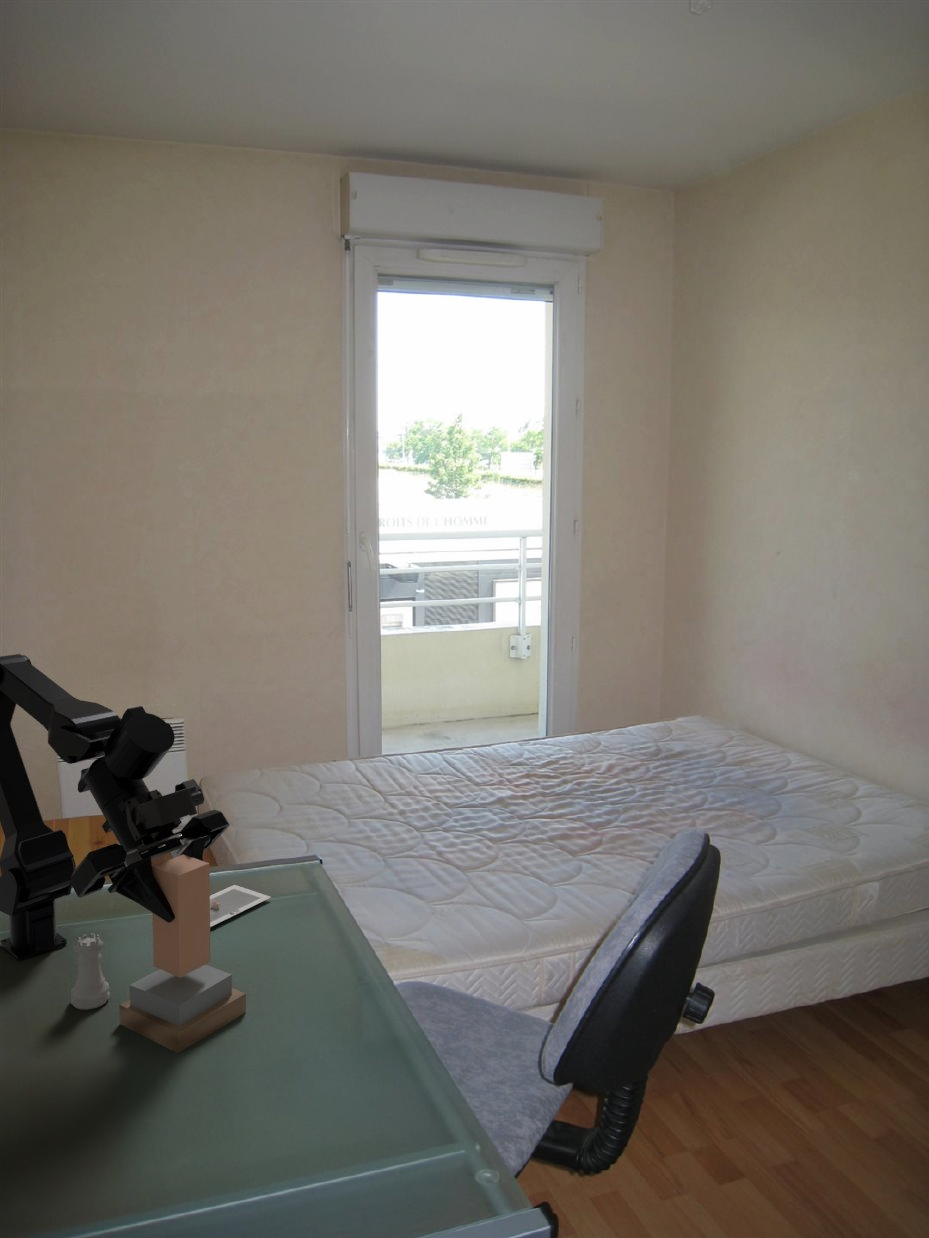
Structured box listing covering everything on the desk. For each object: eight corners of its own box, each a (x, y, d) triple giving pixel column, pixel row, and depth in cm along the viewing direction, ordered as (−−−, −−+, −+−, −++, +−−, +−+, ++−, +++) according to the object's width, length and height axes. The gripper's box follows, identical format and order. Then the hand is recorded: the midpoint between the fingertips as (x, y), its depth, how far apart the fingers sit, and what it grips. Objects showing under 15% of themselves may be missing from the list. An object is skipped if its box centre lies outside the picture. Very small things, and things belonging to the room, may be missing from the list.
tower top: (130, 1005, 106) (129, 984, 106) (183, 975, 113) (183, 956, 113) (179, 1026, 102) (179, 1005, 102) (231, 994, 109) (231, 974, 109)
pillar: (153, 966, 107) (151, 866, 106) (184, 950, 111) (183, 854, 109) (179, 977, 105) (177, 875, 103) (210, 961, 108) (209, 863, 107)
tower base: (120, 1028, 107) (119, 1004, 107) (189, 991, 115) (188, 968, 115) (178, 1058, 102) (177, 1032, 101) (246, 1017, 110) (245, 993, 110)
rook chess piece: (96, 1013, 109) (94, 948, 108) (62, 1008, 110) (59, 944, 109) (117, 994, 113) (116, 931, 112) (84, 989, 114) (82, 927, 113)
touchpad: (156, 927, 132) (155, 912, 132) (234, 891, 145) (234, 878, 144) (194, 942, 128) (194, 927, 128) (271, 903, 140) (271, 890, 140)
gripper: (83, 781, 99) (153, 906, 95) (218, 745, 115) (283, 851, 110) (42, 836, 104) (106, 957, 100) (176, 795, 120) (237, 898, 115)
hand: (189, 912), depth 106 cm, fingers closed on pillar, 4 cm apart
